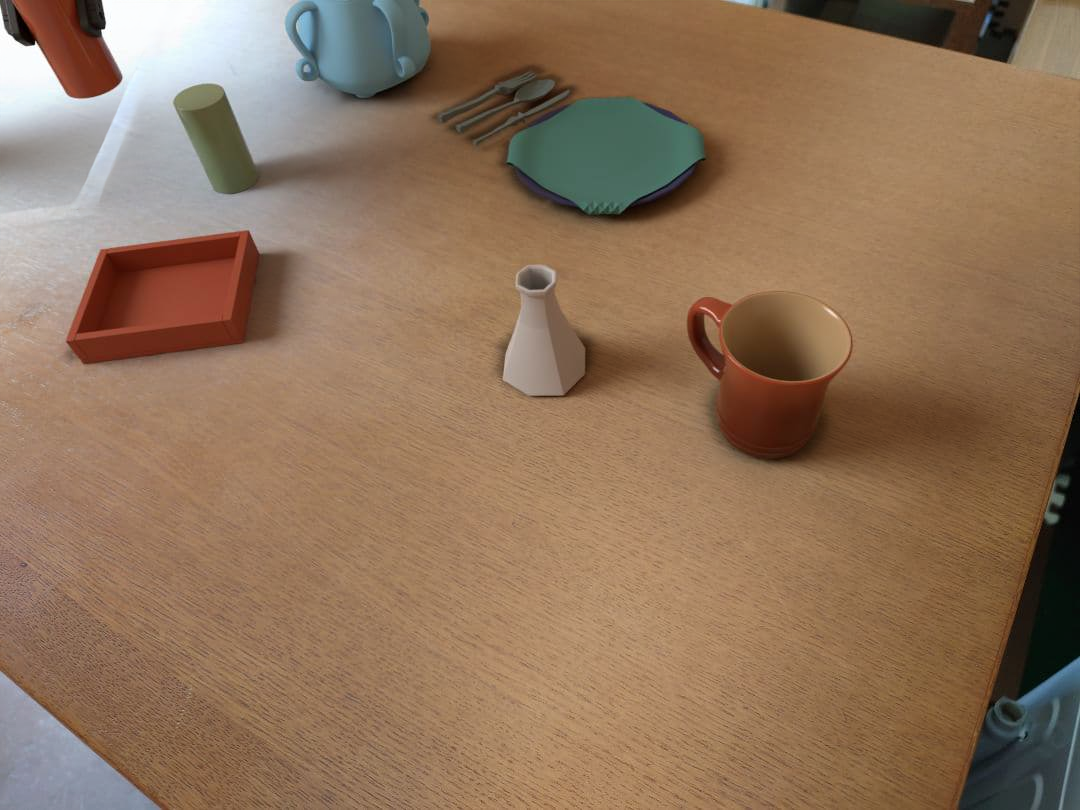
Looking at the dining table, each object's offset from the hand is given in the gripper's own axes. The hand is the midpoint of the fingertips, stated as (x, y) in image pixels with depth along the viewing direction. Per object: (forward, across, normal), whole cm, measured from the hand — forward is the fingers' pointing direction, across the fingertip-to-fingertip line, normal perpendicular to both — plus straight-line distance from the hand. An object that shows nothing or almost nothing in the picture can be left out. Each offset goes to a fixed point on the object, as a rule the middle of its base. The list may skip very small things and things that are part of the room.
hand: (58, 37), depth 67 cm
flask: (+34, +38, -5) cm, 51 cm away
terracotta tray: (+24, +4, +5) cm, 24 cm away
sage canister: (+9, +7, +19) cm, 22 cm away
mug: (+39, +53, -11) cm, 67 cm away
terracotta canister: (+2, 0, +5) cm, 6 cm away
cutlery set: (+11, +45, +17) cm, 49 cm away
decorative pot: (-4, +22, +33) cm, 40 cm away
